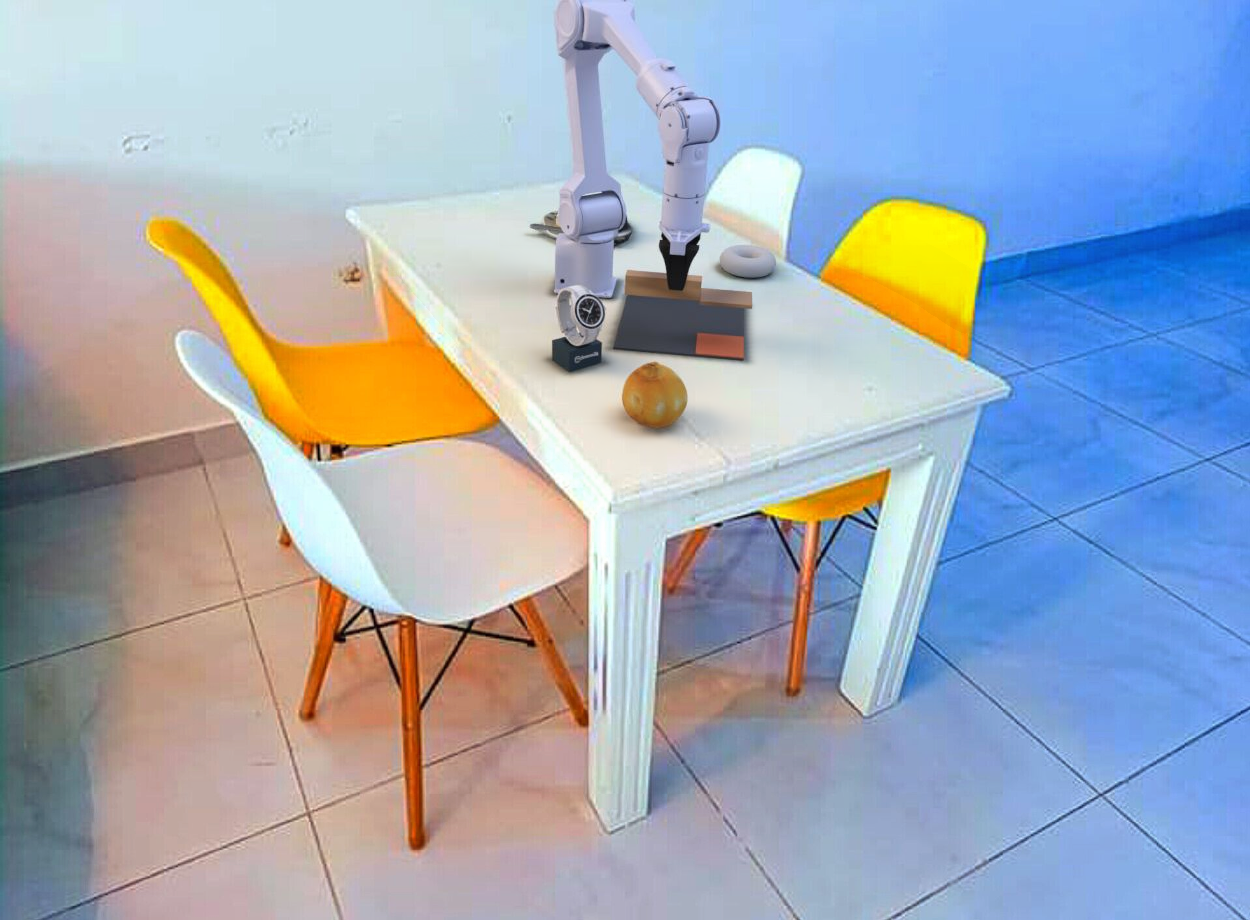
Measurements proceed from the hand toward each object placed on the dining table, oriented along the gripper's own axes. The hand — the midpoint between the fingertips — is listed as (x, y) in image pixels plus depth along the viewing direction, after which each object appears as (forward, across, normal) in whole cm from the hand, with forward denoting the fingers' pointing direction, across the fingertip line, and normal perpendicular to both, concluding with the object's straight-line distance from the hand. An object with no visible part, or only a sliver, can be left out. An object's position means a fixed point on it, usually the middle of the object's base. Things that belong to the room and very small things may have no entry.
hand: (676, 285), depth 133 cm
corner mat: (+8, +5, -1) cm, 10 cm away
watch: (+9, -10, +13) cm, 18 cm away
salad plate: (+9, +44, +19) cm, 49 cm away
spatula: (+2, 0, -2) cm, 2 cm away
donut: (+9, +31, -11) cm, 34 cm away
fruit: (+9, -24, +1) cm, 26 cm away
